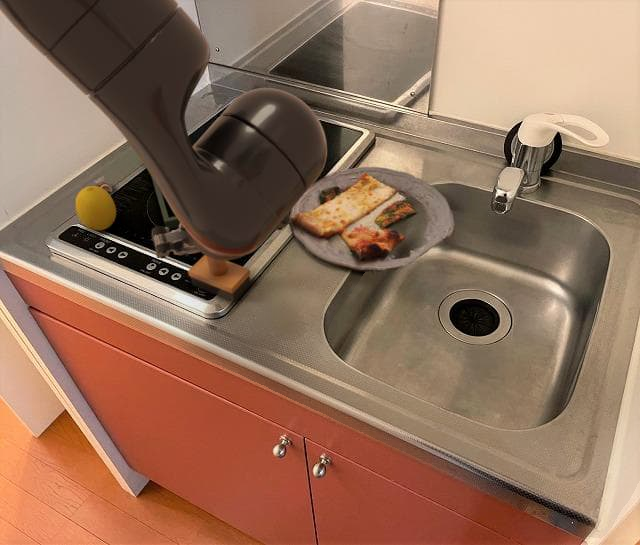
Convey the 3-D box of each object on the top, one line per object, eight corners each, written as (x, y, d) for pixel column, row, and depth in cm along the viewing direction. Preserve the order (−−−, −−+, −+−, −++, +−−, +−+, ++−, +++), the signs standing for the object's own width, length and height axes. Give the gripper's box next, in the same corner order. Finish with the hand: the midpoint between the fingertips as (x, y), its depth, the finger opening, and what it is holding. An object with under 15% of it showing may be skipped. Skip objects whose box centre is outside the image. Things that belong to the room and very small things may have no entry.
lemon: (129, 225, 90) (115, 183, 84) (102, 245, 86) (86, 202, 81) (104, 214, 92) (90, 172, 86) (77, 233, 89) (60, 190, 83)
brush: (192, 289, 79) (176, 224, 71) (210, 271, 82) (197, 206, 74) (234, 307, 77) (223, 241, 69) (252, 287, 79) (243, 222, 71)
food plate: (364, 303, 77) (365, 284, 74) (259, 224, 90) (257, 205, 87) (478, 224, 89) (483, 206, 86) (371, 164, 101) (372, 147, 99)
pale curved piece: (107, 190, 97) (101, 170, 94) (116, 195, 96) (109, 174, 93) (93, 198, 95) (86, 178, 92) (101, 203, 94) (94, 183, 91)
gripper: (292, 158, 53) (267, 193, 69) (137, 191, 50) (148, 220, 65) (313, 236, 53) (283, 253, 69) (159, 274, 50) (164, 283, 65)
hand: (217, 237), depth 67 cm, fingers open, 8 cm apart
